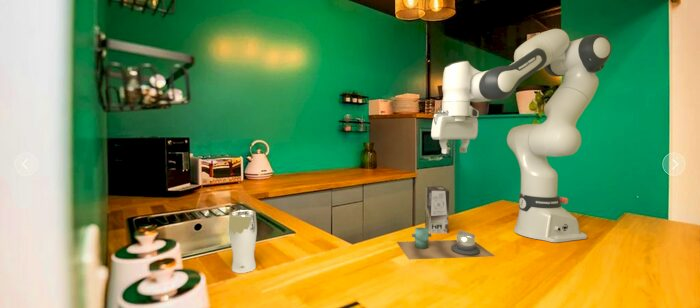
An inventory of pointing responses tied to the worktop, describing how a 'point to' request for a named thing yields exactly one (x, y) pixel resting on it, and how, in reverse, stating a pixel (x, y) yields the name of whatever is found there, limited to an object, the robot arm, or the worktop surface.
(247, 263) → the beer glass
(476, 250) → the pad
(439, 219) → the coffee box
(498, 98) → the robot arm
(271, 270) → the worktop surface
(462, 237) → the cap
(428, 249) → the base board
